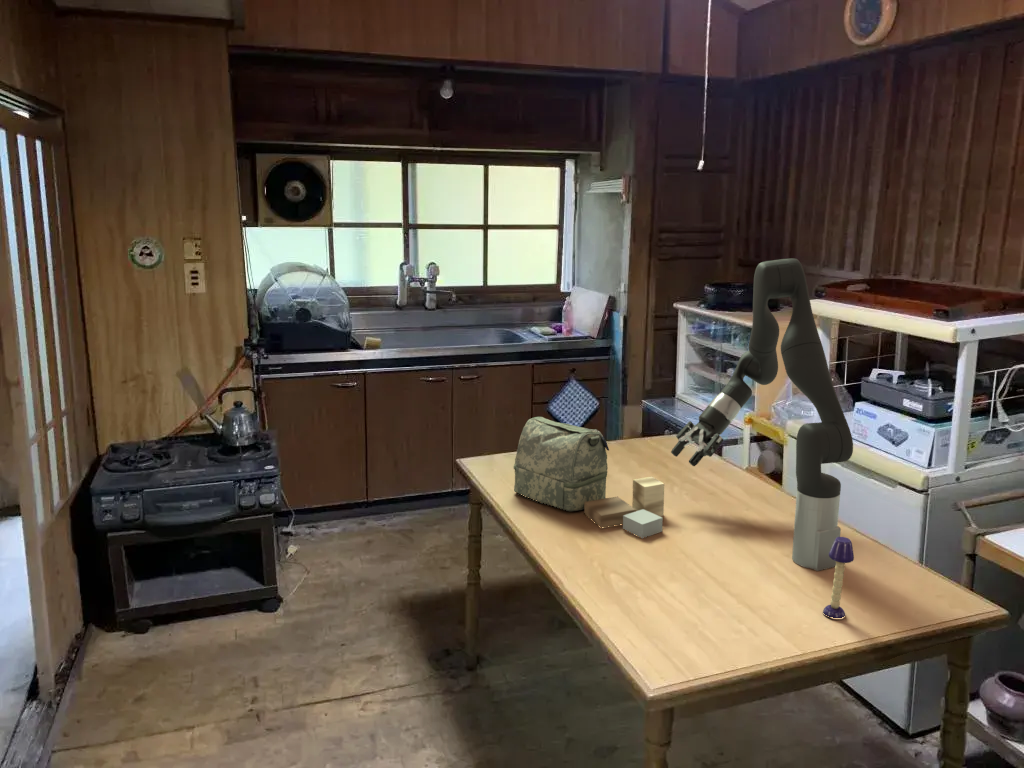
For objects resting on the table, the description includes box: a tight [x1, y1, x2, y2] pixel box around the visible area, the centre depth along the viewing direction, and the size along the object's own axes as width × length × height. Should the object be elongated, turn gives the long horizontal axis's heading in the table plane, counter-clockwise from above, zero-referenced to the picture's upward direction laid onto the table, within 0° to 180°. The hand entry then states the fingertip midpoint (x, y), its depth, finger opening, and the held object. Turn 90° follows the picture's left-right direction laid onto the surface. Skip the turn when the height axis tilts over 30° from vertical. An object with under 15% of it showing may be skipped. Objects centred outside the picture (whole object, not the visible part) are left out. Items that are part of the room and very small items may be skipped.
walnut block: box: [583, 496, 636, 529], centre depth 211 cm, size 10×10×4 cm
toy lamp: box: [822, 536, 855, 618], centre depth 160 cm, size 5×5×17 cm
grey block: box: [622, 509, 663, 539], centre depth 203 cm, size 7×7×4 cm
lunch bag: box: [513, 416, 610, 512], centre depth 224 cm, size 26×18×22 cm
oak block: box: [631, 476, 665, 517], centre depth 213 cm, size 6×6×9 cm
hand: (682, 459), depth 215 cm, fingers open, 8 cm apart
